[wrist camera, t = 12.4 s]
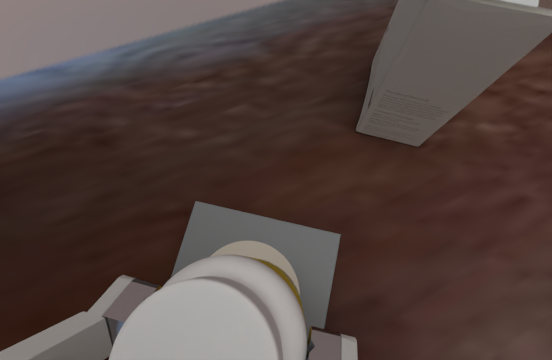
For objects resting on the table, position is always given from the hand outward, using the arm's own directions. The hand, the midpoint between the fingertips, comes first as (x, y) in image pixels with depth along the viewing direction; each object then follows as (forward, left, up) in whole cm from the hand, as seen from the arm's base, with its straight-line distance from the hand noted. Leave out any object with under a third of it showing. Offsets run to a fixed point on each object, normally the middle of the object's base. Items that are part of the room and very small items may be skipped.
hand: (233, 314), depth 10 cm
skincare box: (+8, +18, -13) cm, 24 cm away
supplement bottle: (0, -1, -6) cm, 6 cm away
